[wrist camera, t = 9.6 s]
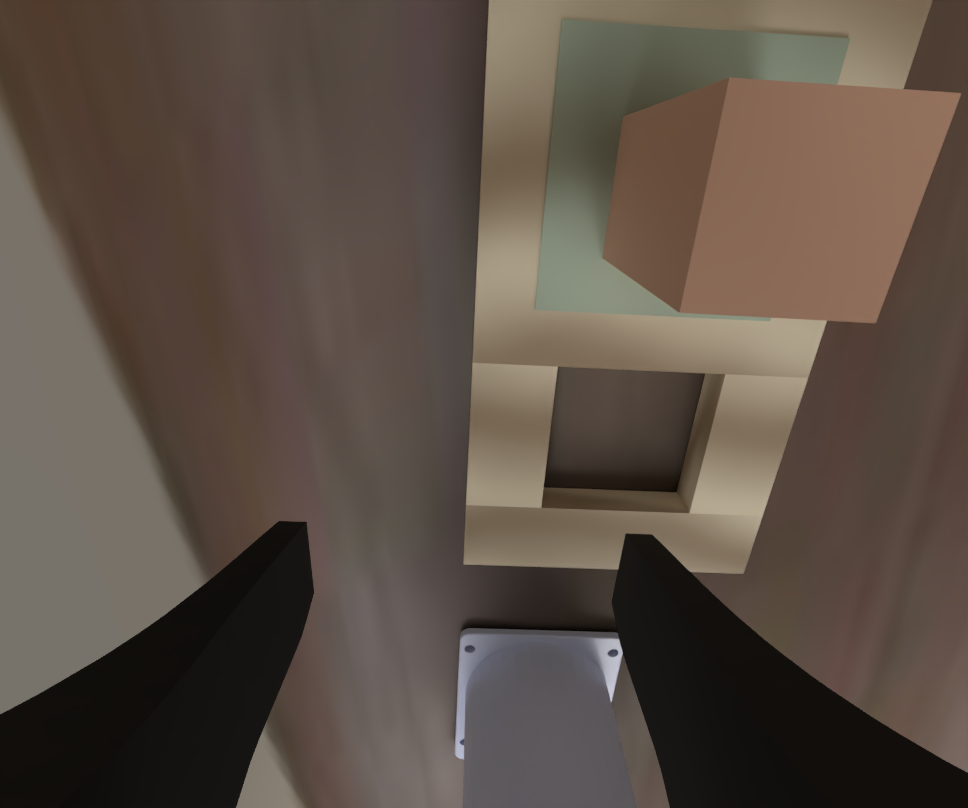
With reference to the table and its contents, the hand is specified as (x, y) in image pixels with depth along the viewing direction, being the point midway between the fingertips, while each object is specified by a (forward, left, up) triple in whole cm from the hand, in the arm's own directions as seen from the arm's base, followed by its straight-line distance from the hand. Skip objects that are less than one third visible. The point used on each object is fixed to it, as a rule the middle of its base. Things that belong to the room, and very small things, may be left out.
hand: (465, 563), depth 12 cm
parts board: (+3, -6, -9) cm, 12 cm away
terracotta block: (+8, -6, -8) cm, 13 cm away
